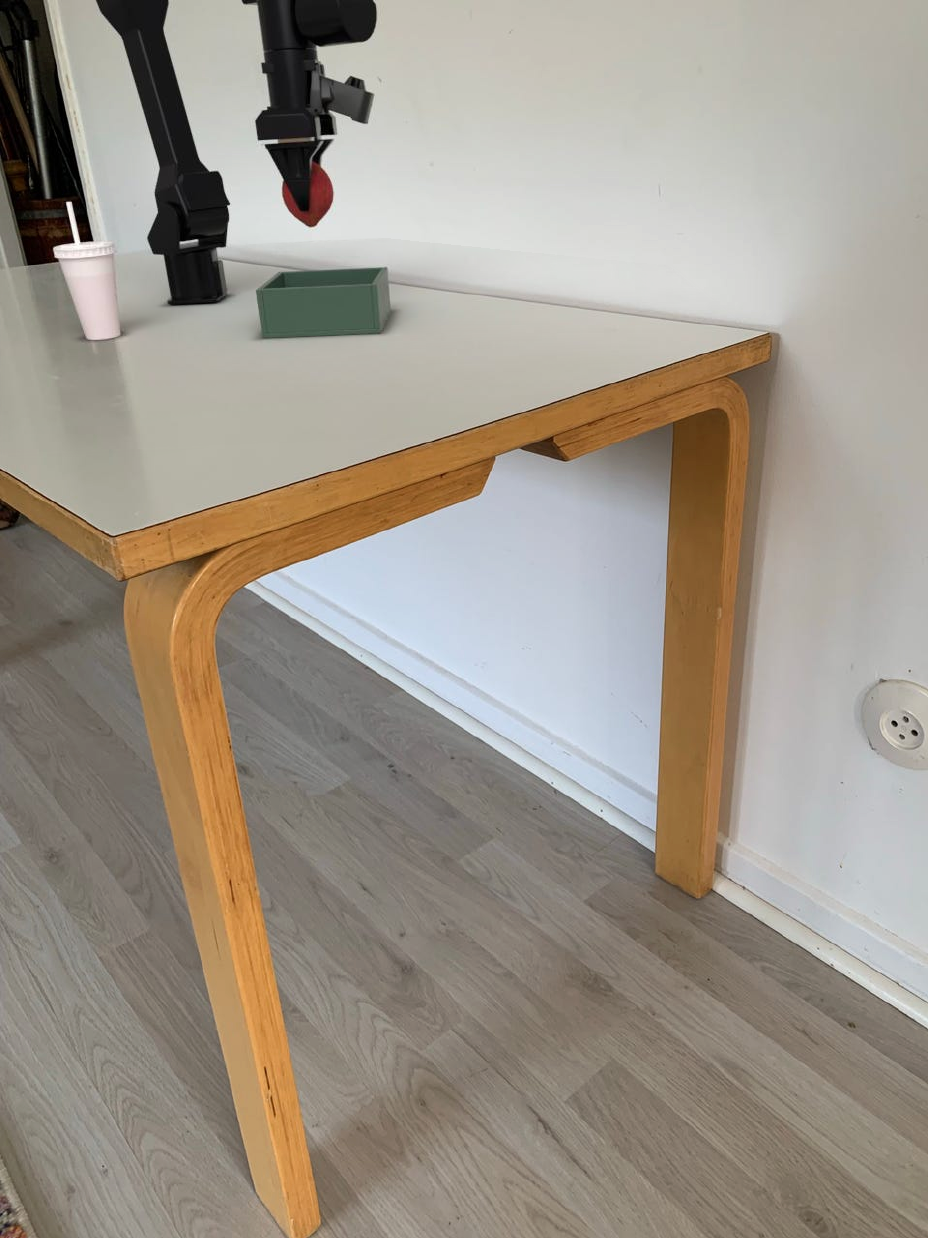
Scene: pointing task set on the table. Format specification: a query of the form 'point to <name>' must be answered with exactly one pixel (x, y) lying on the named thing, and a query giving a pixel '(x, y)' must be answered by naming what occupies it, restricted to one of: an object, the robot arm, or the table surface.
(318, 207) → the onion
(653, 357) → the table surface
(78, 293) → the smoothie
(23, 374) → the table surface
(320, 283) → the green storage bin
